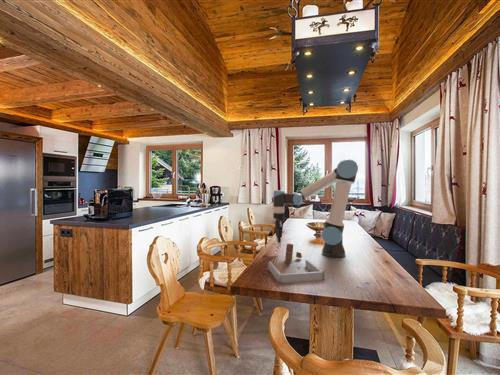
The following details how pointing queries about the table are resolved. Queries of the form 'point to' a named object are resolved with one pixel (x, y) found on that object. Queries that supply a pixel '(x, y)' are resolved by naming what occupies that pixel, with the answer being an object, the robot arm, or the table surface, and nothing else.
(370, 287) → the table surface
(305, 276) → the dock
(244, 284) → the table surface
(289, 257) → the wooden block set
